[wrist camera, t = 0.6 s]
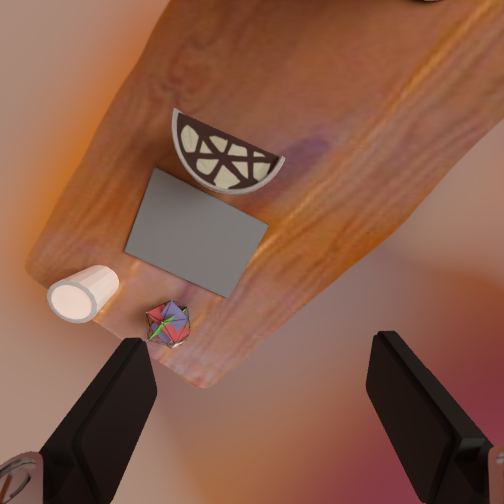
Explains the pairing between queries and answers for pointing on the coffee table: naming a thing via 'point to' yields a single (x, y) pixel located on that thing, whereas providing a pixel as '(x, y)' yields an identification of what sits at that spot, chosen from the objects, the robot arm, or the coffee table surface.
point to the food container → (221, 157)
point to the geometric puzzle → (169, 324)
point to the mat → (193, 234)
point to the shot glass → (82, 293)
